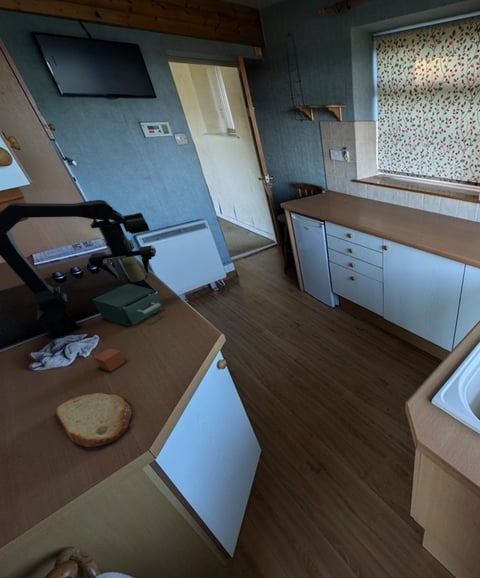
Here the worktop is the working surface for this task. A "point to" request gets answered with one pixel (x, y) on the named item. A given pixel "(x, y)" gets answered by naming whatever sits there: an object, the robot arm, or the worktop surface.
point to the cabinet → (119, 302)
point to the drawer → (142, 308)
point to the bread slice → (94, 418)
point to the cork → (133, 269)
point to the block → (110, 359)
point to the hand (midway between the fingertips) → (133, 275)
